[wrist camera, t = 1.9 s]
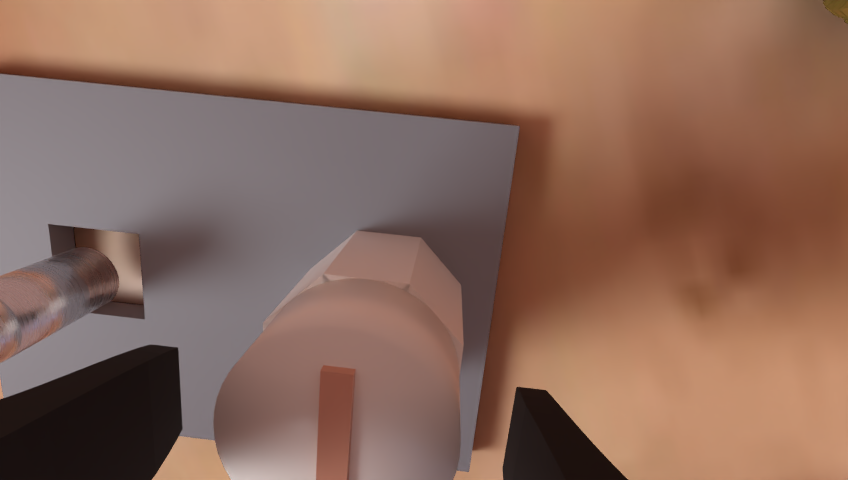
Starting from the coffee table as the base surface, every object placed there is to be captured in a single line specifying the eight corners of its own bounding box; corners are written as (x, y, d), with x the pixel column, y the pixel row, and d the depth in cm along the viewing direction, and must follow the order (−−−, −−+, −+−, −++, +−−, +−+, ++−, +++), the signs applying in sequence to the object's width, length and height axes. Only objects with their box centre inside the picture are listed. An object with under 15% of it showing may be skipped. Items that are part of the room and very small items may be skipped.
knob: (466, 242, 15) (476, 348, 8) (449, 379, 16) (445, 563, 10) (312, 225, 15) (204, 316, 8) (307, 362, 16) (211, 532, 10)
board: (515, 125, 15) (519, 126, 14) (468, 452, 18) (468, 472, 17) (-20, 71, 15) (-52, 68, 14) (29, 398, 18) (6, 414, 18)
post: (116, 250, 15) (-25, 311, 11) (121, 308, 16) (-11, 389, 11) (54, 243, 15) (-111, 300, 11) (62, 302, 16) (-93, 379, 11)
